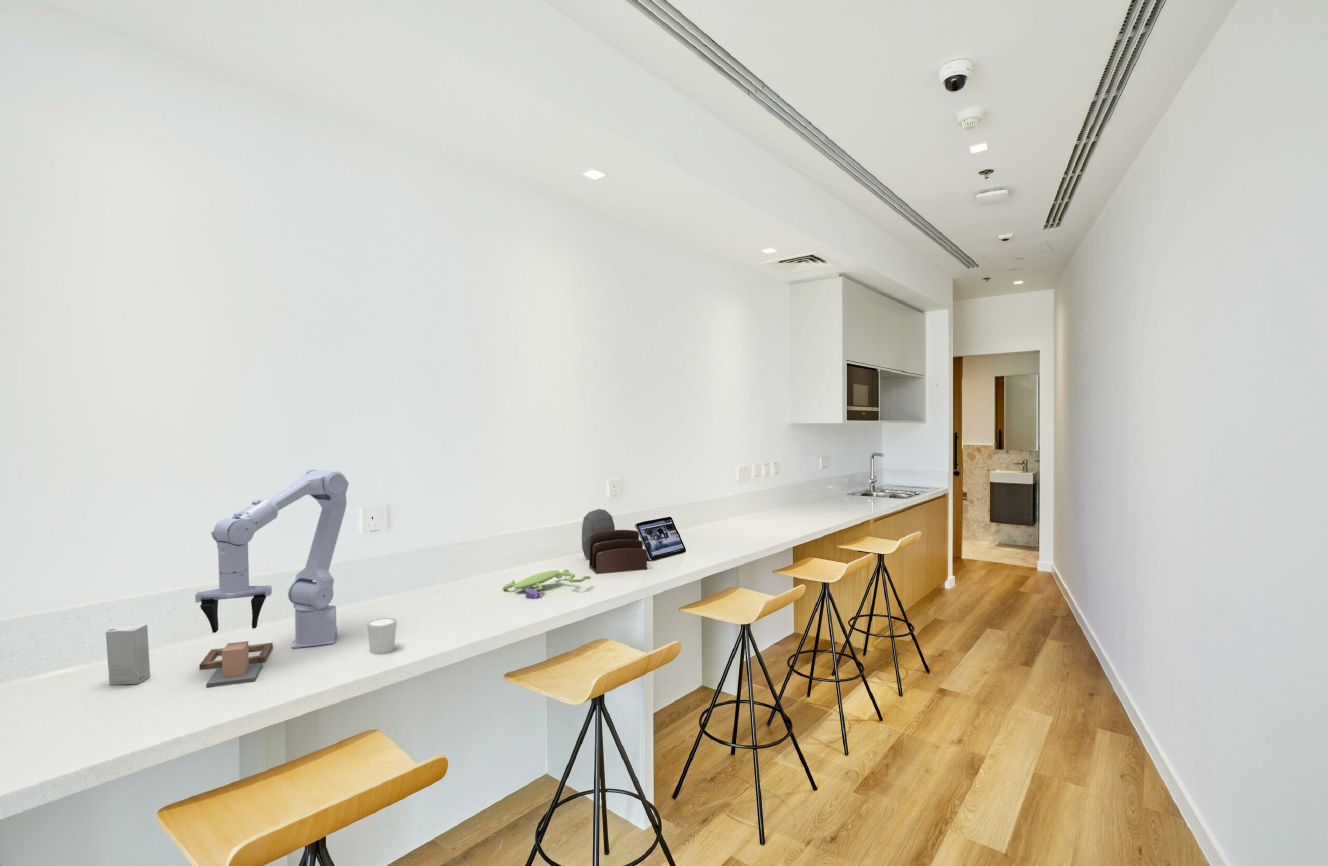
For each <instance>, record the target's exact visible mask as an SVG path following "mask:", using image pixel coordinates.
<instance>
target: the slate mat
mask: <svg viewBox="0 0 1328 866" xmlns="http://www.w3.org/2000/svg"><path fill="white" fill-rule="evenodd" d="M263 667H264V662H261V663H253V664H249V668H248V669H247V671H246V672H245V674H244V675H243V676H235V677H227V678H222V667H220V668H215V669H216V670H215V671H214V672H213V673H212V674H211V677H209V679H208V681H207V682H206V686H205V687H206V688H212V687H221V686H228V685H229V686H230V685H236V684H243V683H252V682H255V681H256V680H257V678H258V676H259V675H258V674H260V672H261V671H262V669H263Z"/></svg>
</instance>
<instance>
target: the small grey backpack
mask: <svg viewBox="0 0 1328 866" xmlns="http://www.w3.org/2000/svg"><path fill="white" fill-rule="evenodd" d="M611 530H616V527H615V522H614V519H613V516H612V514H611V513H610V512H608V511H607V510H606V509H601V508H598V509H595V510H592V511H588V512H587V514H586V515H585V516H584V517H583V520H582V526H581V549H582V552H583V555H584V558H585V559H589V552H590V551H589V538H590V535H591V534H593V533H598V532H603V531H611Z"/></svg>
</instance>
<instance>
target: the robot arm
mask: <svg viewBox="0 0 1328 866" xmlns="http://www.w3.org/2000/svg"><path fill="white" fill-rule="evenodd" d="M348 488H349V481H348V479H347V478H346V476H345V475H344V474H343V473H342V472H341V471H337V470H336V471H329V470H317V469H309V470H307V471H306V472H305V473H303V474H300V475H298V477H297V479H296V480H295V481H293V482H292V483H290V484H289V485H287V486H286V487H285V488H283V489H282V490H281V491H279V492H278V493H276V494H275V495H274V496H272V497H270V498H269V499H266V498H260V499H257V498H256V499H254V500H252V501H251V504H250V505H249V506H247V507H245V508H244V509H242V510H241V511H236V512H234V513H233V516H232V517H225V518H222V519H221V520H219V521H217V522H216V524H215V526H214V528H213V531H210V532H211V533H210V534H211V538H212V539H213V540H214V542H216V545H217V546H216V548H217V550H218V551H217V553H218V554H217V555H218V588H216V589H211V590H210V589H209V590H202V591H197V592H196V593H195V594H194V595H195V596H194V599H195V601H194V602H195V603H200V605H199V607H200V610H202V612H203V613H204V615H205V617H206V618H207V620H208V621H209V624H210V628H211V631H212V634H216V633H217V632H218V631H219V616H218V609H219V601H220V600H229V599H230V600H231V599H238V598H250V597H251V600H250V606H251V615H252V617H251V629H257V627H258V621H259V618H260V617H259V616H260V613H261V610H262V609H263V605H264V603H265V600H266V598H267V597H269V596H271V595H272V593H273V592H272V591H273V590H272V589H273V587H272V585H250V579H249V578H250V576H249V575H250V572H249V567H250V566H249V542H251V541H252V539H253V537H254V535H255V533H256V532H258V531H259V530H260V529H262V528H264V527H265V526H266V525H268V524H270V523H271V522H272V521H274V520H276V519H277V517H278V514H279V511H280V510H282V509H284V508H286V507H287V506H289V505H291V504H292V503H294V502H296V501H298V500H300V499H301V498H303V497H304V496H308V495H309V496H310V497H312V498H313V499H314V500H315V501H317V503H318V504H319V506H320V508H321V510H320V514H319V517H318V521H317V525H316V529H315V531H314V535H313V539H312V542H311V546H310V550H309V553H308V557H307V559H306V560H307V561H306V562H305V563H306V564H305V567H304V568H303V569H302V570H301V571H299V572H298V573H297V574H296V575H295V579H294V581H293V583H291V585H290V587H289V588H288V592H287V597H288V600H289V602H290V603H292V604H293V608H294V623H295V624H294V627H295V630H294V631H295V633H294V635H295V636H294V637H295V639H294V640H293V643H292V645H291V648H292V649H297V648H298V649H299V648H306V647H307V648H308V647H314V646H315V647H316V646H325V645H333V644H335V640H336V637H337V634H338V626H337V606H336V605H335V604H334V605H330V604H331V602H332V601H333V598H334V582H335V579H334V578H333V576H332V574H331V573H330V567H331V563H332V559H333V557H334V553H335V548H336V545H337V541H338V537H339V534H340V530H341V527H342V523H343V519H344V517H345V512H346V508H347V491H348Z"/></svg>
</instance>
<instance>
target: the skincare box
mask: <svg viewBox="0 0 1328 866" xmlns="http://www.w3.org/2000/svg"><path fill="white" fill-rule="evenodd" d="M148 636H149V635H148V624H126V625H125V624H122V625H117V626H116V625H115V626H114V627H112V628H110V629H109V630H106V631H105V639H106V641H105V642H106V653H107V654H106V655H107V656H106V657H107V669H108V682H109V684H108V685H110V686H115V685H116V686H117V685H118V686H119V685H138V684H141V683H143V682H144V681H146V680H147V679H149V678H151V666H150V651H149V650H150V649H149V637H148Z"/></svg>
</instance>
